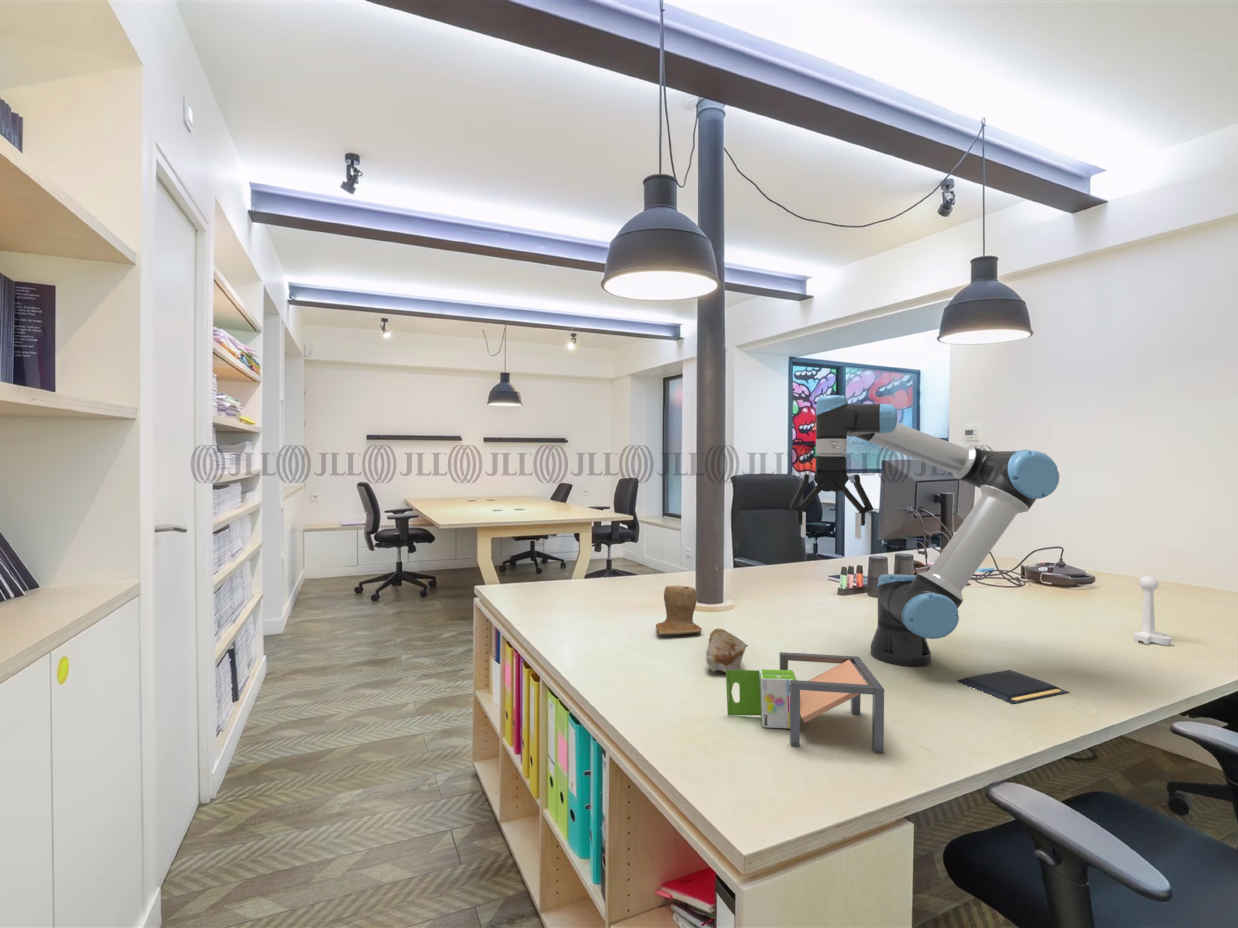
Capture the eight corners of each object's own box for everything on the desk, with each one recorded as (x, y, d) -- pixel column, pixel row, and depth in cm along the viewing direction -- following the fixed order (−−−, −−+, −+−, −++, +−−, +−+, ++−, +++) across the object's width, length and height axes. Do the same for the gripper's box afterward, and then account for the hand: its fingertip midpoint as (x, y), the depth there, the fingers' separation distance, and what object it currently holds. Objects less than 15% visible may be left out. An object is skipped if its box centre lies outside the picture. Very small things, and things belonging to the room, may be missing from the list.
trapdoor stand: (858, 711, 124) (858, 656, 124) (883, 753, 106) (884, 688, 106) (779, 705, 127) (779, 651, 127) (790, 745, 109) (791, 682, 109)
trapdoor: (851, 663, 122) (849, 659, 122) (870, 688, 108) (867, 684, 109) (793, 693, 124) (791, 689, 124) (804, 722, 110) (801, 717, 110)
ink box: (799, 729, 115) (728, 727, 117) (795, 717, 120) (727, 716, 122) (797, 679, 115) (726, 677, 117) (793, 669, 120) (725, 668, 122)
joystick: (1149, 636, 180) (1150, 573, 180) (1180, 643, 173) (1181, 578, 173) (1128, 640, 176) (1129, 575, 176) (1159, 648, 169) (1160, 580, 169)
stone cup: (692, 626, 188) (692, 580, 188) (705, 636, 177) (706, 588, 177) (648, 628, 185) (648, 582, 185) (659, 639, 173) (659, 590, 173)
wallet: (1010, 666, 149) (1073, 688, 135) (1010, 673, 149) (1073, 696, 135) (952, 675, 143) (1011, 699, 128) (952, 682, 143) (1011, 707, 128)
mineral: (701, 614, 171) (734, 621, 170) (696, 645, 170) (729, 651, 169) (711, 635, 144) (750, 643, 144) (705, 672, 144) (745, 679, 143)
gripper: (783, 455, 146) (782, 538, 146) (886, 455, 142) (885, 540, 142) (779, 455, 153) (779, 534, 153) (877, 456, 150) (877, 537, 150)
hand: (830, 537), depth 148 cm, fingers open, 13 cm apart
